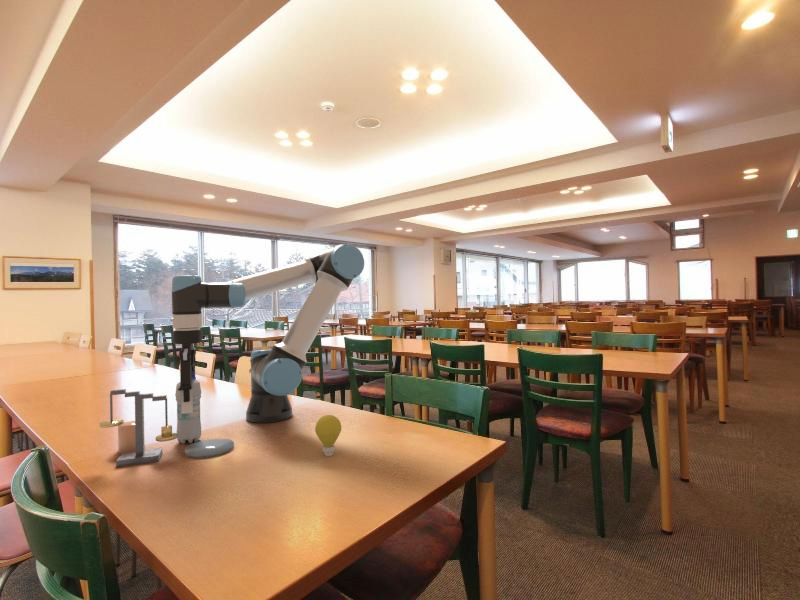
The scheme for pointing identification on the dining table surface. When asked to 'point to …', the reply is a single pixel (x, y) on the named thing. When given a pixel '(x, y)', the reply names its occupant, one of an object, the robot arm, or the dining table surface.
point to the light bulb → (328, 432)
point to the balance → (140, 430)
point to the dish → (209, 448)
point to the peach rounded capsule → (126, 437)
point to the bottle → (189, 415)
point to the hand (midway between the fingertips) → (188, 409)
